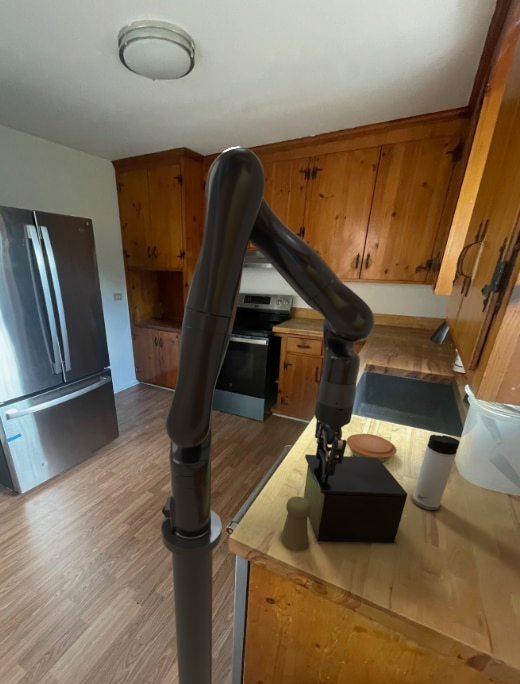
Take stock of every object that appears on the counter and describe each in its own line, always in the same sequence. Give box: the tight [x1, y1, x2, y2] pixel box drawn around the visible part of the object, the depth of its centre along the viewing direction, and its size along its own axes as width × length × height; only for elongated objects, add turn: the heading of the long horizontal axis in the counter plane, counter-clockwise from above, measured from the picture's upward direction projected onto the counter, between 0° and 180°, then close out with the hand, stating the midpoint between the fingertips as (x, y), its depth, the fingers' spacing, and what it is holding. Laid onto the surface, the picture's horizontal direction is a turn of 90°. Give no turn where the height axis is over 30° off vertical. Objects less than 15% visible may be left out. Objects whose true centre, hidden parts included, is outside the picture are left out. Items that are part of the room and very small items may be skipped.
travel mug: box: [412, 434, 461, 511], centre depth 85 cm, size 6×7×20 cm
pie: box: [346, 433, 397, 463], centre depth 111 cm, size 15×16×5 cm
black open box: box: [303, 464, 408, 544], centre depth 80 cm, size 18×15×13 cm
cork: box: [280, 495, 311, 551], centre depth 73 cm, size 6×6×11 cm
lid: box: [304, 447, 409, 498], centre depth 76 cm, size 19×15×6 cm
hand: (324, 466), depth 76 cm, fingers closed on lid, 6 cm apart
